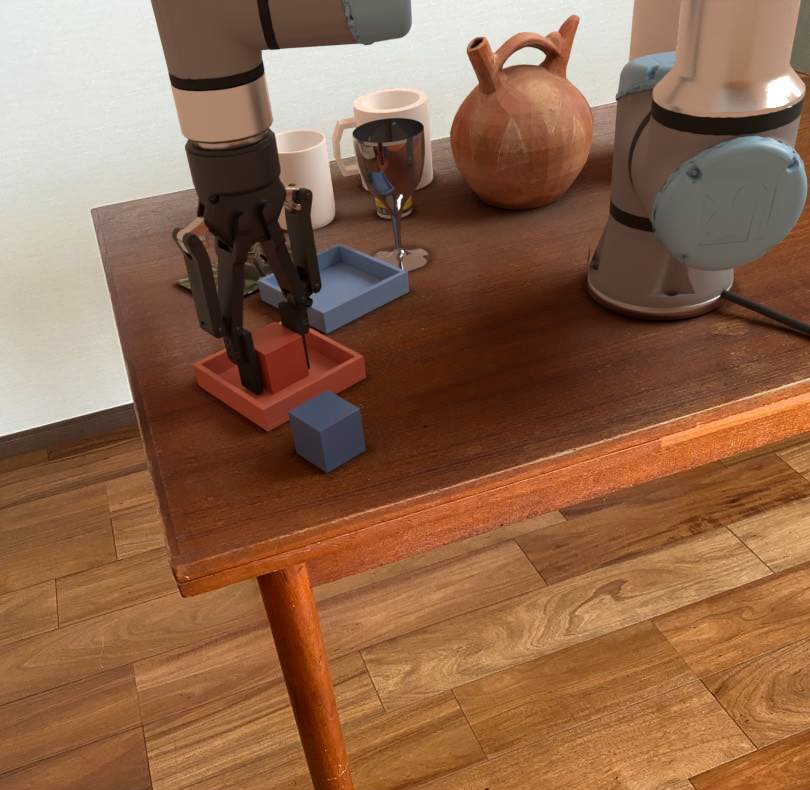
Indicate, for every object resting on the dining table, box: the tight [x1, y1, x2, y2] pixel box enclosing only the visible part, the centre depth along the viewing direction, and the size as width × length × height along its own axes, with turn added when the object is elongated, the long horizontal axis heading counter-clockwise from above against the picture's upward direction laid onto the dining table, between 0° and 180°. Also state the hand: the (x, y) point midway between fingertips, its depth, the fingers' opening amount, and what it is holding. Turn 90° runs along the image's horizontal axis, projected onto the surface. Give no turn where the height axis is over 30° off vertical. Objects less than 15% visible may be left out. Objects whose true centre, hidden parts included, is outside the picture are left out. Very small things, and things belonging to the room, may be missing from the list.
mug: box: [331, 87, 434, 192], centre depth 122 cm, size 14×10×11 cm
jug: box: [449, 14, 595, 211], centre depth 113 cm, size 18×18×20 cm
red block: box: [251, 321, 309, 394], centre depth 87 cm, size 4×4×4 cm
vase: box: [628, 0, 681, 62], centre depth 112 cm, size 14×14×32 cm
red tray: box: [192, 321, 367, 433], centre depth 88 cm, size 12×12×2 cm
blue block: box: [288, 390, 367, 474], centre depth 78 cm, size 4×4×4 cm
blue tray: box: [258, 242, 410, 335], centre depth 101 cm, size 12×12×2 cm
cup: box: [275, 129, 336, 232], centre depth 116 cm, size 8×12×10 cm
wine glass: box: [351, 118, 430, 272], centre depth 102 cm, size 8×8×15 cm
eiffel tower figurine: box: [174, 243, 293, 296], centre depth 103 cm, size 15×10×13 cm
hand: (276, 376), depth 88 cm, fingers open, 5 cm apart
